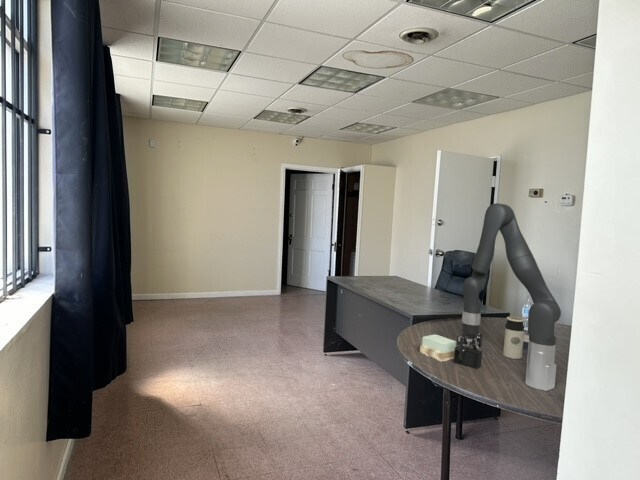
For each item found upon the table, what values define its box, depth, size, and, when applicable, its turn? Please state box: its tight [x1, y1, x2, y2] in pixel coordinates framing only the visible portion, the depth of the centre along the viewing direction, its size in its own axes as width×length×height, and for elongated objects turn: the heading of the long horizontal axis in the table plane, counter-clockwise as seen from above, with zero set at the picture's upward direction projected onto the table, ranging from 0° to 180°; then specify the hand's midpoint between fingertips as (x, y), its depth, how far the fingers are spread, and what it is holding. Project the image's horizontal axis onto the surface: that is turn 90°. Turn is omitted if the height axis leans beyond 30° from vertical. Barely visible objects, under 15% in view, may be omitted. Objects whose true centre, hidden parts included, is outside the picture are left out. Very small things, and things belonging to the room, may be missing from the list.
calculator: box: [523, 334, 529, 350], centre depth 217 cm, size 11×4×15 cm
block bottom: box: [419, 344, 455, 363], centre depth 193 cm, size 13×11×4 cm
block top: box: [421, 334, 457, 353], centre depth 193 cm, size 12×9×4 cm
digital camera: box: [453, 345, 483, 370], centre depth 182 cm, size 10×5×7 cm, turn 49°
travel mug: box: [502, 316, 525, 360], centre depth 195 cm, size 8×8×18 cm
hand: (467, 358), depth 183 cm, fingers open, 8 cm apart
